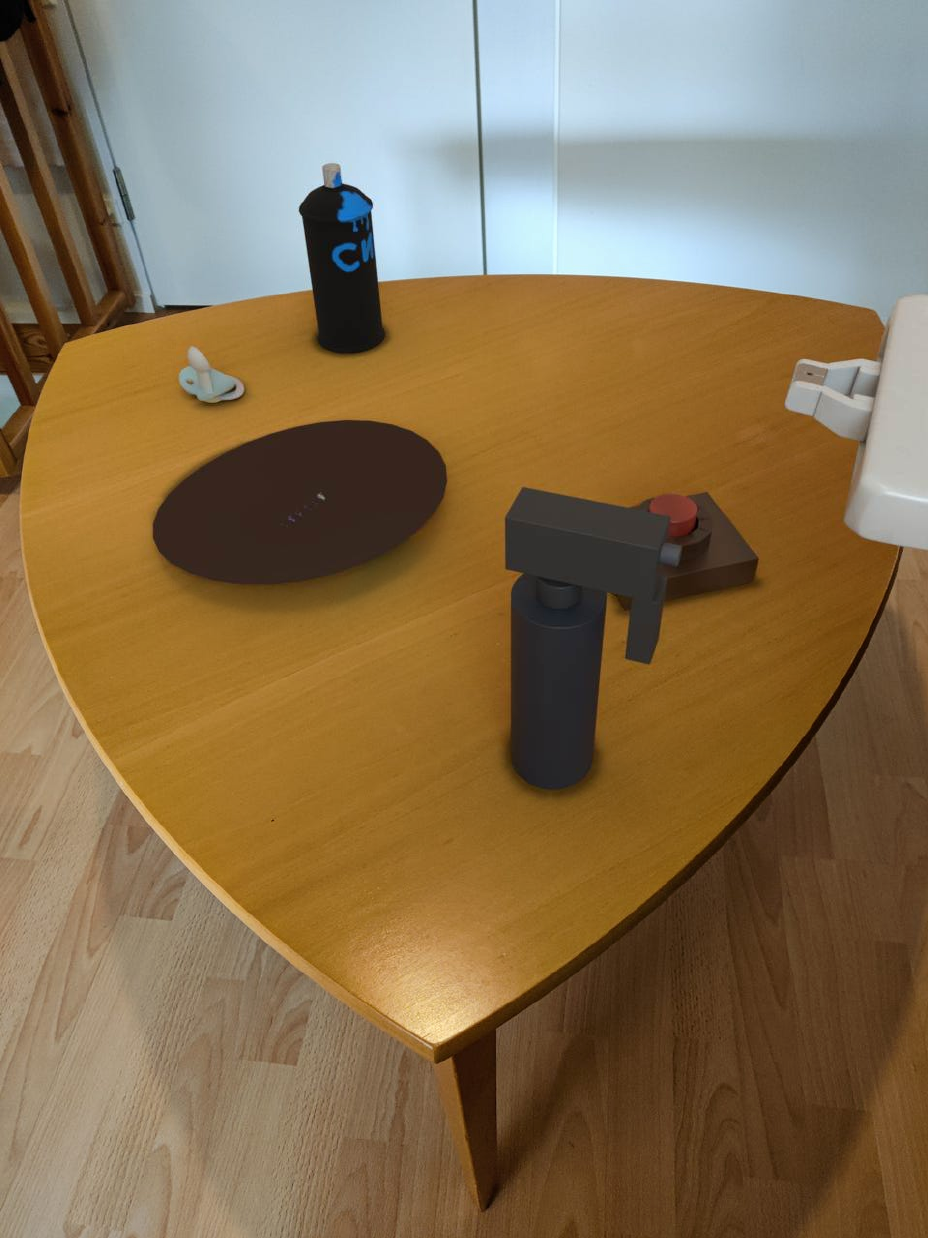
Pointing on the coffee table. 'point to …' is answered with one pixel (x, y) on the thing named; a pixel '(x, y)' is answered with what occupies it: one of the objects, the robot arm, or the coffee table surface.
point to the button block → (706, 554)
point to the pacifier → (208, 380)
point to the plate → (302, 503)
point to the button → (676, 513)
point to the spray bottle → (569, 619)
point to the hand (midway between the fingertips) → (790, 382)
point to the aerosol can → (342, 264)
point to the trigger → (645, 626)
